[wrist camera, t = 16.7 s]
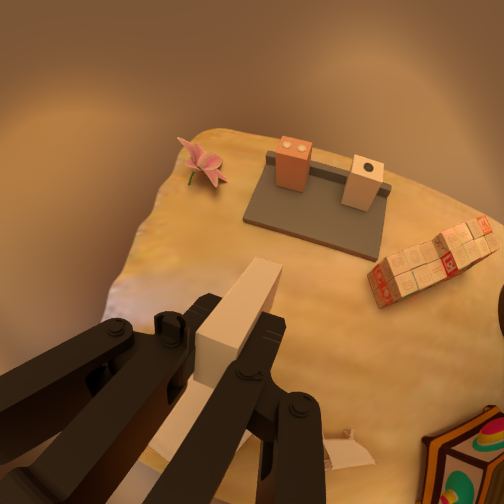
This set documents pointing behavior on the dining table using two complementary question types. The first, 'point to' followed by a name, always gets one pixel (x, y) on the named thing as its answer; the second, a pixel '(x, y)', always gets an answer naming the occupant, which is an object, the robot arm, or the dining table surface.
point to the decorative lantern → (467, 462)
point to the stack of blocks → (432, 261)
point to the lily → (203, 162)
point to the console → (318, 210)
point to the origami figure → (346, 452)
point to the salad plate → (183, 420)
